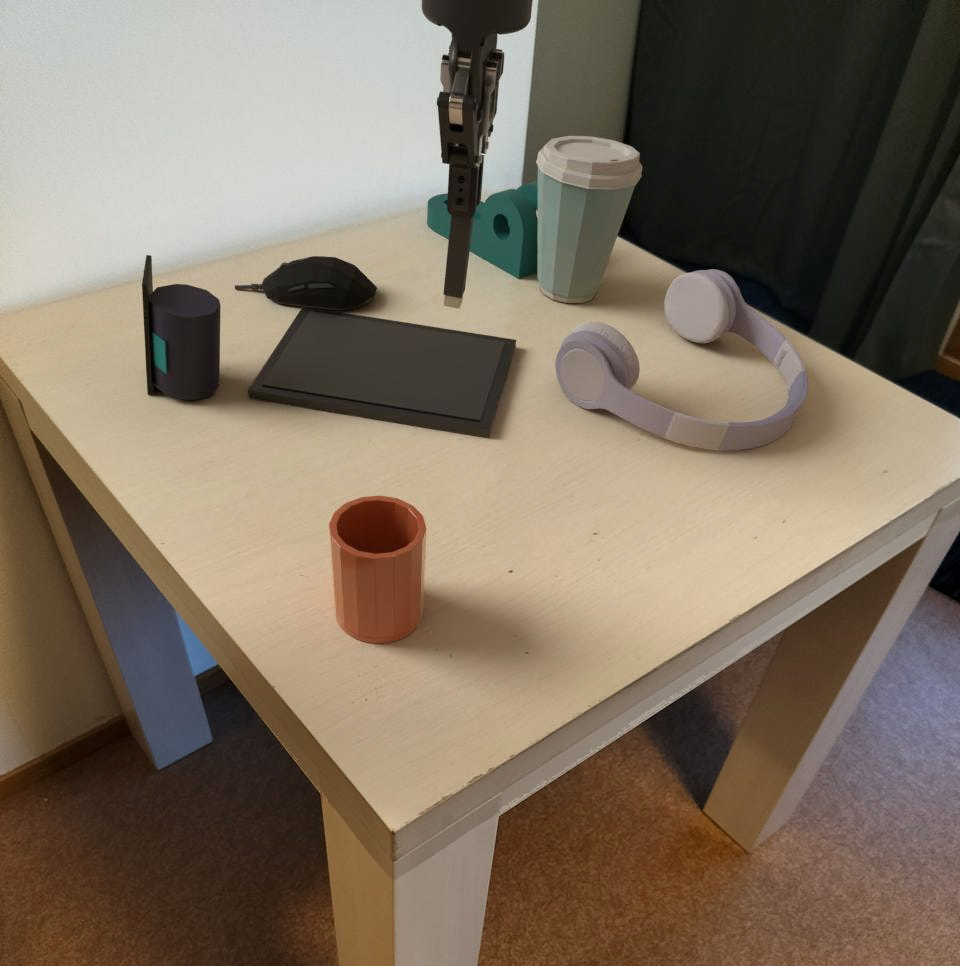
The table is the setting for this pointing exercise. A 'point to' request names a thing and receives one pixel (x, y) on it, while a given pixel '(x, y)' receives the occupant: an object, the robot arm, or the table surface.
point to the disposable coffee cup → (581, 211)
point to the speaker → (180, 338)
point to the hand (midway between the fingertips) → (463, 208)
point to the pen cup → (378, 568)
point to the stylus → (457, 259)
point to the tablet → (388, 371)
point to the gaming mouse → (317, 284)
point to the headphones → (699, 318)
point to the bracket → (498, 228)
